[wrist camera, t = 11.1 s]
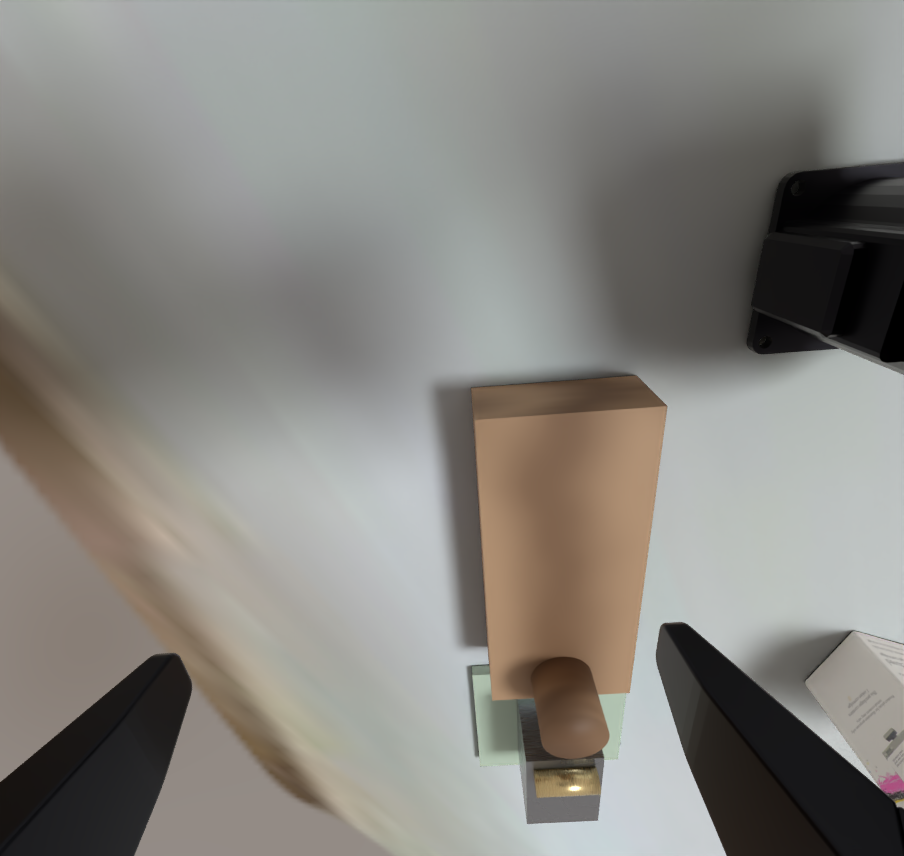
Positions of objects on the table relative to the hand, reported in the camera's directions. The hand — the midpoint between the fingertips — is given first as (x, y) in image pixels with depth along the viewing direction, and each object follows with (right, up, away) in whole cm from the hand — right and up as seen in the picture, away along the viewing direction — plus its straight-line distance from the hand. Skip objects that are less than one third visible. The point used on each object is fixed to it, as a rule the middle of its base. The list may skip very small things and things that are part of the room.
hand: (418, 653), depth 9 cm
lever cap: (+7, -14, +21) cm, 26 cm away
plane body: (+6, -1, +15) cm, 16 cm away
